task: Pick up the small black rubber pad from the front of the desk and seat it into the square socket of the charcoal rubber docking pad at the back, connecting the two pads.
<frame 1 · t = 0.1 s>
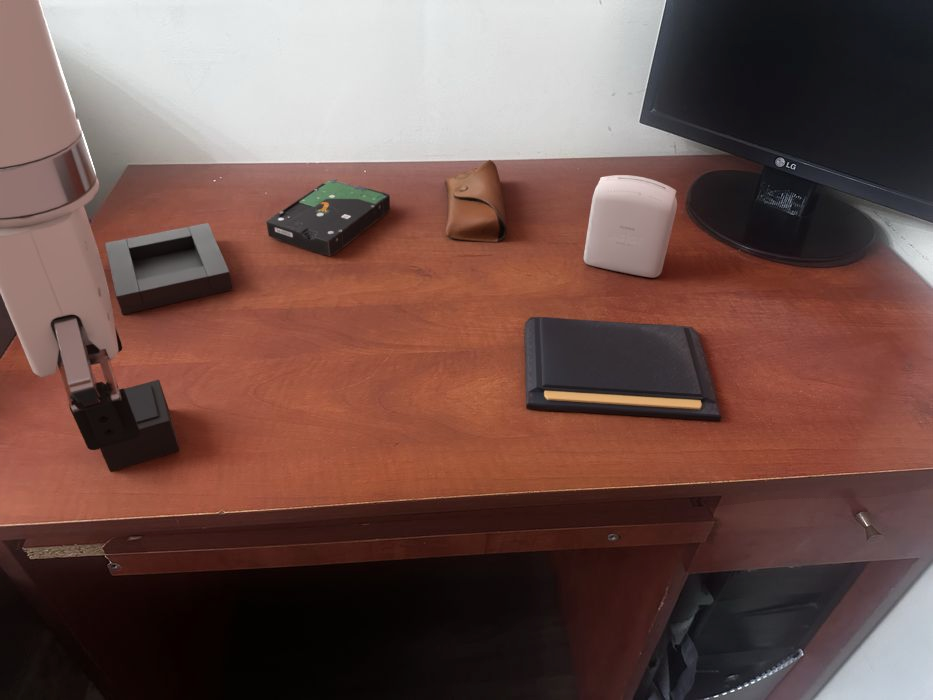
hand: (107, 395, 50), 15 cm above the table, tool pointing down, fingers open, 9 cm apart
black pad: (140, 439, 66), on the table
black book: (615, 369, 77), on the table
disk drive: (331, 225, 98), on the table
docking pad: (170, 274, 87), on the table
sunglasses case: (473, 210, 103), on the table
photo printer: (620, 267, 93), on the table
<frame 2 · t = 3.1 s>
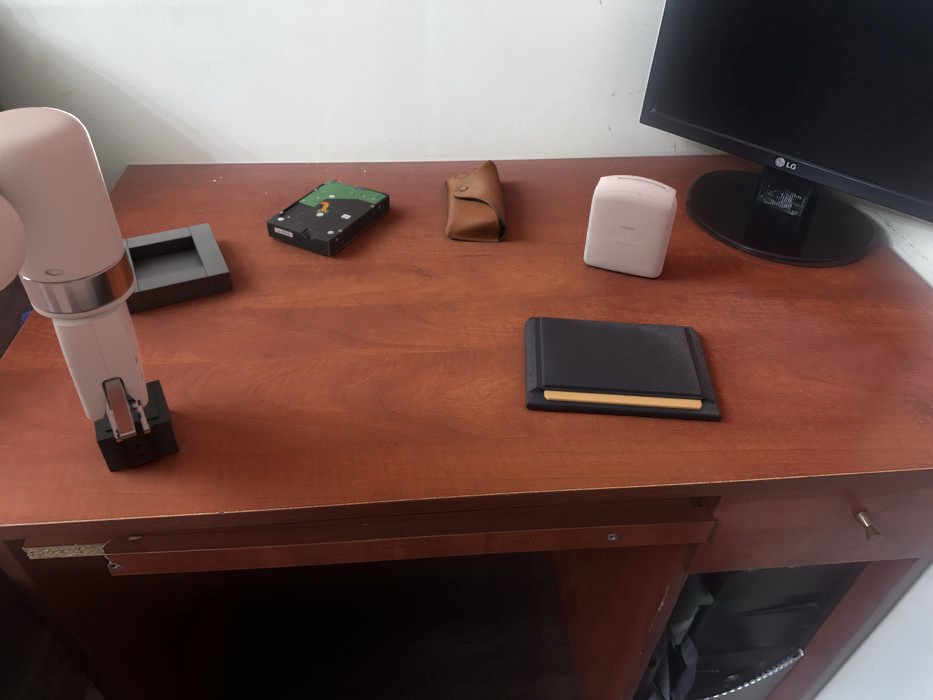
hand: (139, 434, 66), 1 cm above the table, tool pointing down, fingers closed on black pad, 6 cm apart
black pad: (140, 439, 66), on the table, touching gripper
everything else where it was.
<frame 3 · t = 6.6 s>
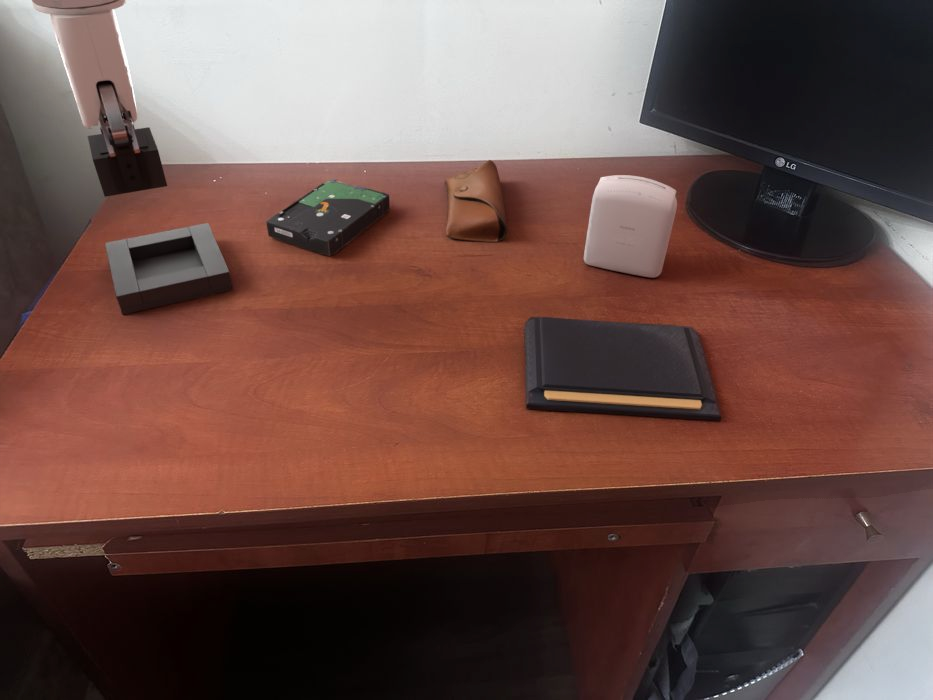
hand: (130, 174, 73), 16 cm above the table, tool pointing down, fingers closed on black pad, 6 cm apart
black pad: (132, 179, 74), point 15 cm above the table, touching gripper
everything else where it was.
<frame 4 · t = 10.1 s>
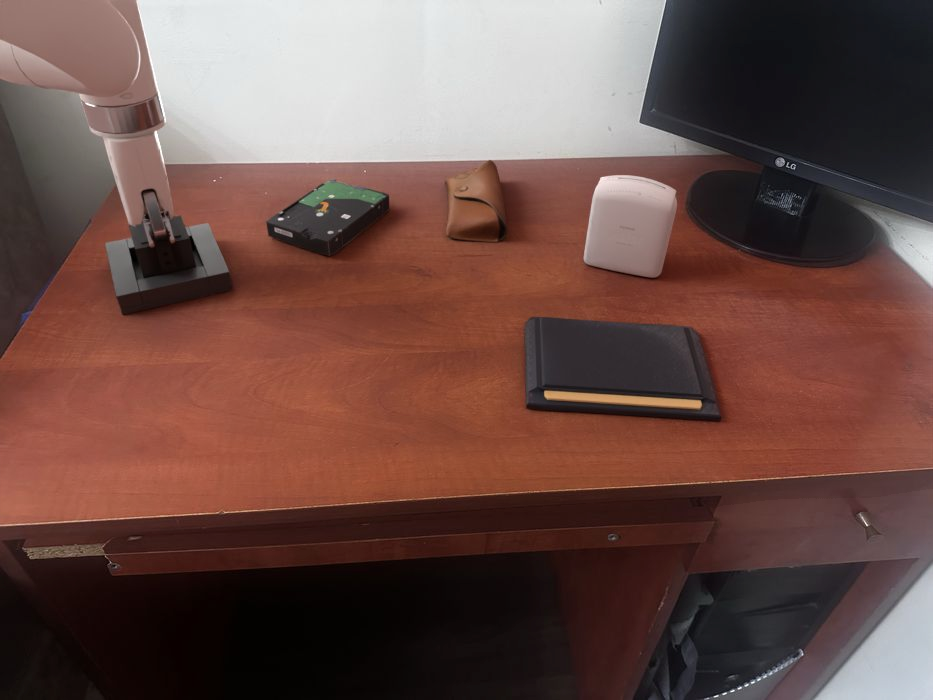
hand: (165, 256, 85), 3 cm above the table, tool pointing down, fingers closed on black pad, 6 cm apart
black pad: (166, 260, 86), point 2 cm above the table, touching gripper
everything else where it was.
when the fingers open (3 cm above the table, at t = 16.1 s): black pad drops 2 cm, resting on docking pad.
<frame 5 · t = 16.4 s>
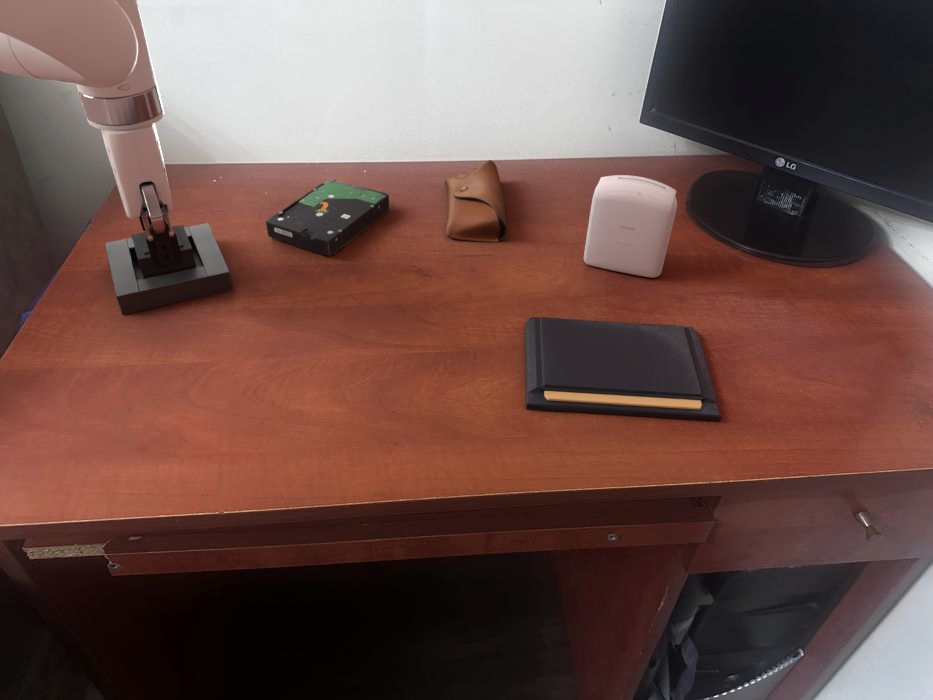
hand: (162, 246, 85), 4 cm above the table, tool pointing down, fingers open, 8 cm apart
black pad: (169, 269, 87), point 1 cm above the table, touching docking pad
everything else where it was.
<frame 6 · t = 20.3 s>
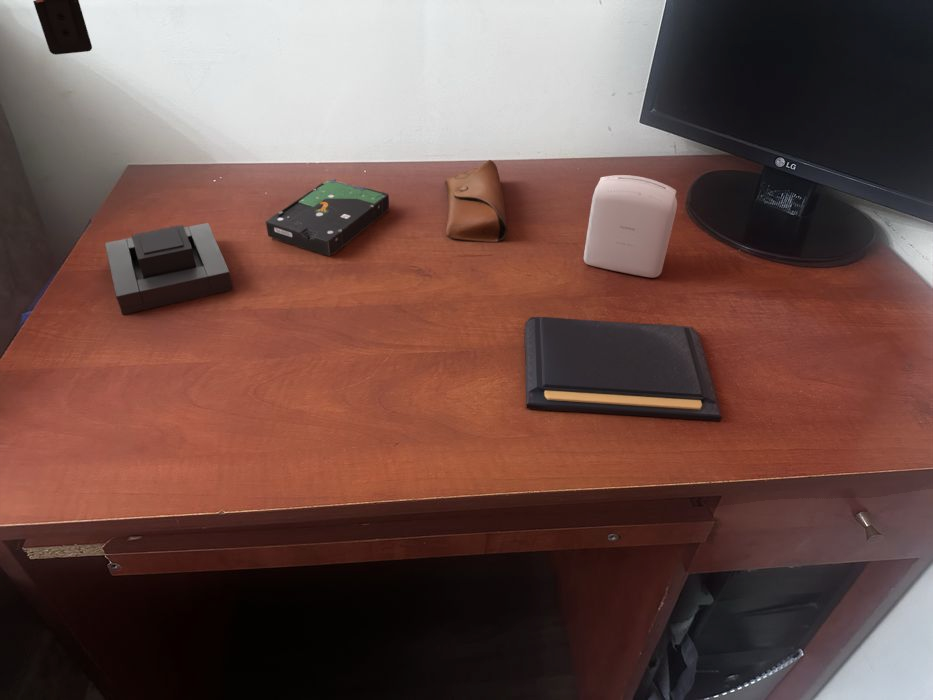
hand: (67, 35, 62), 30 cm above the table, tool pointing down, fingers open, 9 cm apart
nothing on the table moved.
at the end: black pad 0.1 cm off-centre in the docking pad, point 0.8 cm above the docking pad's base; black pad tilted 0°; the gripper is holding nothing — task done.
